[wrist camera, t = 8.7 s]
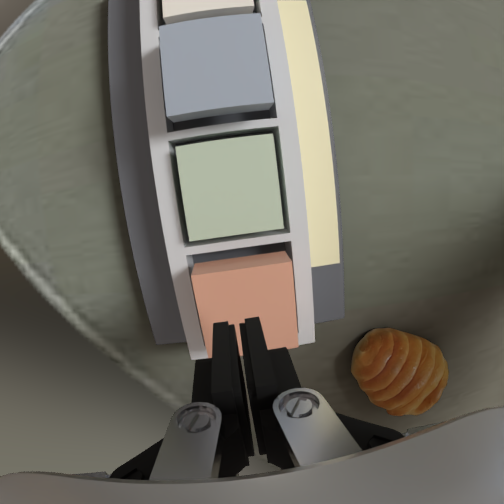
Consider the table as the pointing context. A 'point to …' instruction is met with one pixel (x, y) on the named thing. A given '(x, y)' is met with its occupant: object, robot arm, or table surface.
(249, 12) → the ivory key
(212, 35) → the slate key
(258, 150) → the sage key
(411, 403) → the pastry
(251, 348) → the robot arm
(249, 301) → the terracotta key
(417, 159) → the table surface
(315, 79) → the keypad
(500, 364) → the table surface
